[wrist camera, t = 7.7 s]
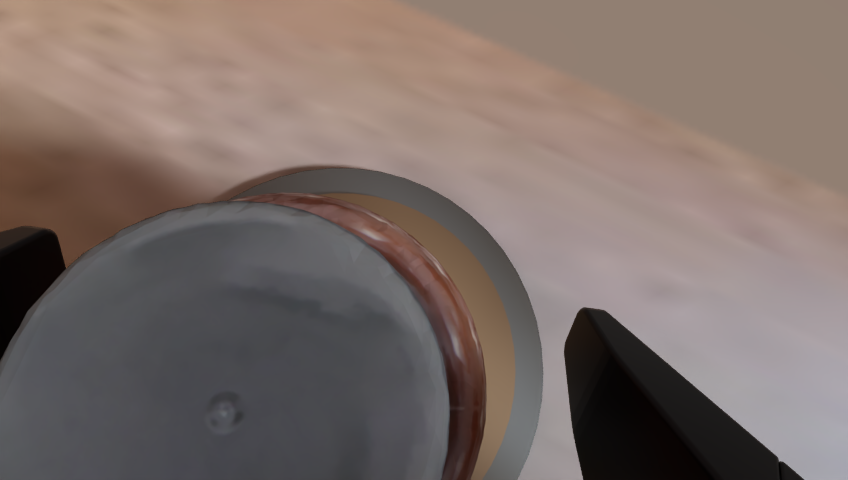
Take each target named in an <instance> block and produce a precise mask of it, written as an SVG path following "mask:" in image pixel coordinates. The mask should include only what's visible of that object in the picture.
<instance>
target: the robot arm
mask: <svg viewBox="0 0 848 480" xmlns="http://www.w3.org/2000/svg"><path fill="white" fill-rule="evenodd" d="M65 269H66V267H65V263H64V260H63V256H62V252H61V248H60V244H59V241H58V237H57V235H56V234H55V232H53V231H52V230H50V229H46V228H39V227H32V226H21V227H17V228H14V229H10V230H6V231H3V232H0V360H1V358H2V356H3V354H4V352H5V350H6V349H7V347H8V345H9V343H10V341H11V339H12V338H13V336H14V334H15V333H16V331H17V330H18V328H19V327H20V325H21V323H22V321H23V319H24V317H25V315H26V313H27V311H28V310H29V309H30V308H31V307H32V306H33V305H34V304H35V302H36V301H37V300H38V299H39V298H40V297H41V296H42V295H43V294H44V293H45V291H46V290H47V289H48V288H49V287H50V286H51V285H52V284H53V282H54V281H55V280H56V279H57V278H58V277H59V276H60V275H61V273H62V272H63V271H64V270H65ZM564 357H565V366H566V375H567V384H568V394H569V403H570V412H571V421H572V428H573V434H574V439H575V444H576V449H577V453H578V458H579V462H580V467H581V471H582V476H583V480H804V479H803V478H802V477H801V476H799V475H798V474H797V473H796V472H795V471H794V470H792V469H791V468H790V467H789V466H788V465H787V464H785V463H784V462H782V461H780V462H779V460H778V457H777V456H776V455H775V454H773V453H772V452H771V451H770V450H769V449H768V448H766V447H765V446H764V445H763V444H762V443H760V442H759V441H758V440H757V439H756V438H755V437H753V436H752V435H751V434H750V433H749V432H748V431H746V430H745V429H744V428H743V427H742V426H740V425H739V424H738V423H737V422H736V421H735V420H733V419H732V418H731V417H730V416H729V415H728V414H726V413H725V412H724V411H723V410H722V409H720V408H719V407H718V406H717V405H716V404H715V403H713V402H712V401H711V400H710V399H709V398H708V397H706V396H705V395H704V394H703V393H702V392H700V391H699V390H698V389H697V388H696V387H695V386H693V385H692V384H691V383H690V382H689V381H688V380H686V379H685V378H684V377H683V376H682V375H680V374H679V373H678V372H677V371H676V370H675V369H673V368H672V367H671V366H670V365H669V364H668V363H666V362H665V361H664V360H663V359H662V358H660V357H659V356H658V355H657V354H656V353H655V352H653V351H652V350H651V349H650V348H649V347H648V346H646V345H645V344H644V343H643V342H642V341H640V340H639V339H638V338H637V337H636V336H635V335H633V334H632V333H631V332H630V331H629V330H628V329H626V328H625V327H624V326H623V325H622V324H620V323H619V322H618V321H617V320H616V319H615V318H613V317H612V316H611V315H610V314H609V313H608V312H606V311H604V310H600V309H593V308H586V307H584V308H582V309H580V310H579V312H578V313H577V315H576V318H575V320H574V323H573V325H572V327H571V330H570V332H569V334H568V337H567V339H566V342H565V347H564Z"/></svg>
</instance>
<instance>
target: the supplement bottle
mask: <svg viewBox="0 0 848 480" xmlns="http://www.w3.org/2000/svg"><path fill="white" fill-rule="evenodd" d="M486 402H487V394H486V374H485V365H484V357H483V352H482V347H481V344H480V341H479V337H478V334H477V331H476V327H475V324H474V320H473V317H472V315H471V313H470V311H469V309H468V307H467V305H466V302H465V300H464V299H463V297H462V295H461V293H460V291H459V290H458V288H457V287H456V285H455V283H454V282H453V280H452V279H451V277H450V276H449V274H448V273H447V272H446V270H445V269H444V268H443V266H442V265H441V264H440V262H439V261H438V260H437V259H436V258H435V257H434V256H433V255H432V254H431V253H430V252H429V251H428V250H427V249H426V248H425V247H424V246H423V245H422V244H421V243H420V242H418V241H417V240H416V239H415V238H414V237H413V236H412V235H410V234H409V233H407V232H406V231H405V230H403V229H402V228H400V227H399V226H398V225H396V224H395V223H394V222H392V221H390V220H388V219H386V218H384V217H382V216H380V215H378V214H376V213H374V212H372V211H370V210H368V209H366V208H364V207H362V206H360V205H357V204H353V203H350V202H347V201H343V200H340V199H336V198H331V197H326V196H321V195H316V194H311V193H296V192H295V193H283V192H282V193H267V194H261V195H255V196H246V197H242V198H239V199H235V200H231V201H219V202H213V203H202V204H195V205H192V206H188V207H184V208H177V209H173V210H170V211H167V212H164V213H160V214H158V215H156V216H154V217H151V218H147V219H145V220H143V221H140V222H138V223H136V224H134V225H131V226H129V227H127V228H124V229H122V230H120V231H119V232H118V233H116V234H115V235H114V236H112V237H110V238H108V239H106V240H104V241H103V242H101V243H100V244H98V245H96V246H95V247H93V248H91V249H90V250H88V251H87V252H85V253H83V254H82V255H81V256H80V257H79V258H78V259H77V260H75V261H74V262H73V263H72V264H71V265H70V266H69V267H68V268H67V269H65V270H64V271H63V272H62V273H61V275H60V276H59V277H58V278H57V279H56V280H55V281H54V282H53V284H52V285H51V286H50V287H49V288H48V289H47V290H46V291H45V293H44V294H43V295H42V296H41V297H40V298H39V299H38V300H37V301H36V302H35V304H34V305H33V306H32V307H31V308H30V309H29V310H28V311H27V313H26V315H25V317H24V319H23V321H22V323H21V325H20V327H19V328H18V330H17V331H16V333H15V334H14V336H13V338H12V339H11V341H10V343H9V345H8V347H7V349H6V350H5V352H4V354H3V356H2V358H1V360H0V480H470V479H471V477H472V474H473V471H474V468H475V465H476V462H477V459H478V455H479V451H480V447H481V443H482V440H483V436H484V427H485V423H486Z"/></svg>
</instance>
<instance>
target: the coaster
mask: <svg viewBox="0 0 848 480" xmlns="http://www.w3.org/2000/svg"><path fill="white" fill-rule="evenodd" d="M282 192H283V193H295V192H296V193H311V194H316V195H321V196H326V197H331V198H336V199H340V200H343V201H347V202H350V203H353V204H357V205H360V206H362V207H364V208H366V209H368V210H370V211H372V212H374V213H376V214H378V215H380V216H382V217H384V218H386V219H388V220H390V221H392V222H394V223H395V224H396V225H398V226H399V227H400V228H402V229H403V230H405V231H406V232H407V233H409V234H410V235H412V236H413V237H414V238H415V239H416V240H417V241H418V242H420V243H421V244H422V245H423V246H424V247H425V248H426V249H427V250H428V251H429V252H430V253H431V254H432V255H433V256H434V257H435V258H436V259H437V260H438V261H439V262H440V264H441V265H442V266H443V268H444V269H445V270H446V272H447V273H448V274H449V276H450V277H451V279H452V280H453V282H454V283H455V285H456V287H457V288H458V290H459V291H460V293H461V295H462V297H463V299H464V300H465V302H466V305H467V307H468V309H469V311H470V313H471V315H472V317H473V320H474V324H475V327H476V331H477V334H478V337H479V341H480V344H481V347H482V352H483V357H484V365H485V374H486V394H487V402H486V423H485V427H484V436H483V440H482V443H481V447H480V451H479V455H478V459H477V462H476V465H475V468H474V471H473V474H472V477H471V479H470V480H517V479H518V477H519V475H520V473H521V470H522V468H523V466H524V464H525V461H526V459H527V457H528V455H529V452H530V449H531V445H532V442H533V439H534V436H535V432H536V429H537V425H538V419H539V413H540V408H541V402H542V387H543V362H542V348H541V342H540V337H539V332H538V327H537V321H536V318H535V315H534V312H533V309H532V306H531V303H530V300H529V297H528V294H527V292H526V290H525V288H524V286H523V283H522V281H521V279H520V277H519V275H518V273H517V271H516V270H515V268H514V266H513V265H512V263H511V262H510V260H509V258H508V257H507V255H506V254H505V252H504V251H503V249H502V248H501V247H500V246H499V245H498V243H497V242H496V241H495V240H494V239H493V237H492V236H491V235H490V234H489V232H488V231H487V230H486V229H485V228H484V227H482V226H481V225H480V224H479V223H478V222H477V221H476V220H475V219H474V218H473V217H472V216H471V215H470V214H468V213H467V212H466V211H464V210H463V209H462V208H460V207H459V206H458V205H456V204H455V203H453V202H452V201H451V200H449V199H448V198H446V197H444V196H442V195H440V194H439V193H437V192H435V191H433V190H431V189H430V188H428V187H425V186H423V185H420V184H418V183H415V182H413V181H410V180H408V179H405V178H402V177H398V176H394V175H391V174H387V173H383V172H378V171H370V170H363V169H353V168H328V169H319V170H310V171H303V172H299V173H295V174H290V175H286V176H282V177H279V178H276V179H273V180H270V181H268V182H265V183H262V184H259V185H257V186H255V187H253V188H251V189H249V190H247V191H245V192H243V193H241V194H239V195H237V196H235V197H233V198H231V199H230V200H228V201H231V200H235V199H239V198H242V197H246V196H255V195H261V194H267V193H282Z"/></svg>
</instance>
